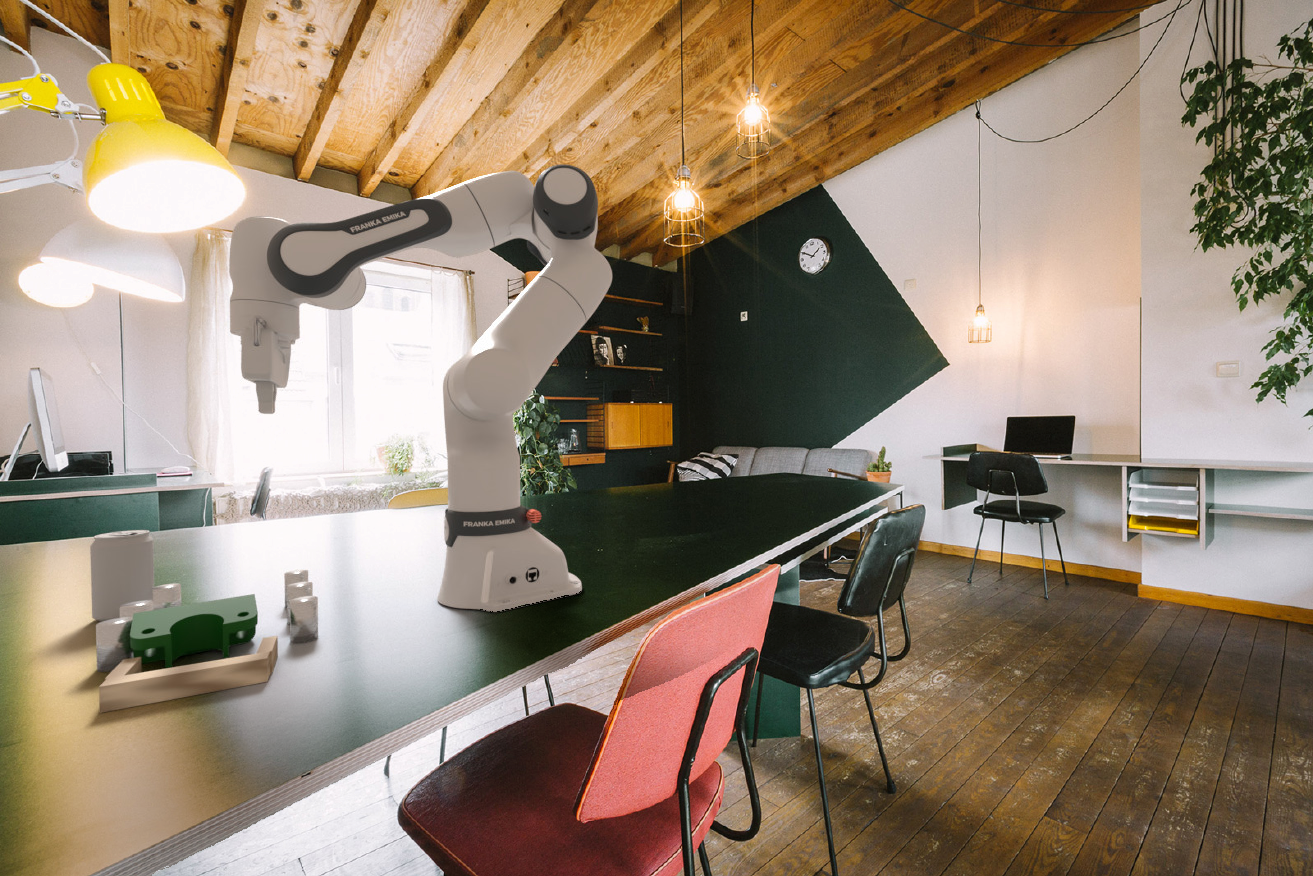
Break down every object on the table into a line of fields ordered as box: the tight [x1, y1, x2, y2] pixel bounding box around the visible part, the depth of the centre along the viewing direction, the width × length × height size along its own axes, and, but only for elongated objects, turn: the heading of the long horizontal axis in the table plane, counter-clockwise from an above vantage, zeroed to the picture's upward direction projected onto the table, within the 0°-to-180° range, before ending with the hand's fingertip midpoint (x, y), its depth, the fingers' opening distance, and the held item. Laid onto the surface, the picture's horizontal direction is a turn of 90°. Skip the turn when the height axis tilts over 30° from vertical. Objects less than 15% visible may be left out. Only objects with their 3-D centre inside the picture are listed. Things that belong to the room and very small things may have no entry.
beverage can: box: [89, 529, 155, 623], centre depth 77 cm, size 6×6×12 cm
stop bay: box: [98, 635, 279, 714], centre depth 58 cm, size 13×7×2 cm, turn 119°
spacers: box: [95, 569, 319, 673], centre depth 72 cm, size 21×19×5 cm
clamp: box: [130, 593, 259, 669], centre depth 64 cm, size 12×6×9 cm, turn 124°
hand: (267, 413), depth 85 cm, fingers closed
